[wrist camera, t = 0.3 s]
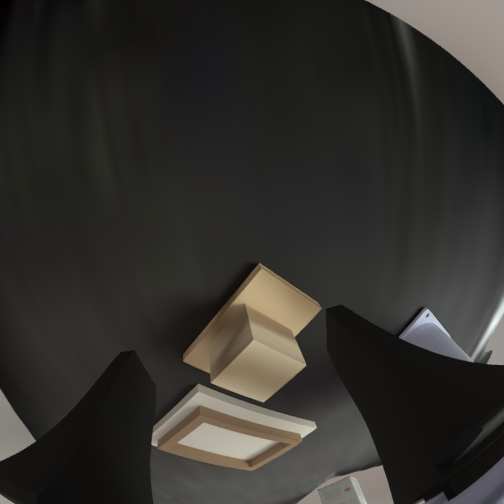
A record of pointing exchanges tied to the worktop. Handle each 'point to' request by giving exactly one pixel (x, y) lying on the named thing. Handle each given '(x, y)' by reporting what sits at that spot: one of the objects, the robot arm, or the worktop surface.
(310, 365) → the worktop surface
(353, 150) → the worktop surface
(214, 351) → the flange block
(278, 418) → the keyed base
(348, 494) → the small box
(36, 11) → the worktop surface
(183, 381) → the worktop surface
